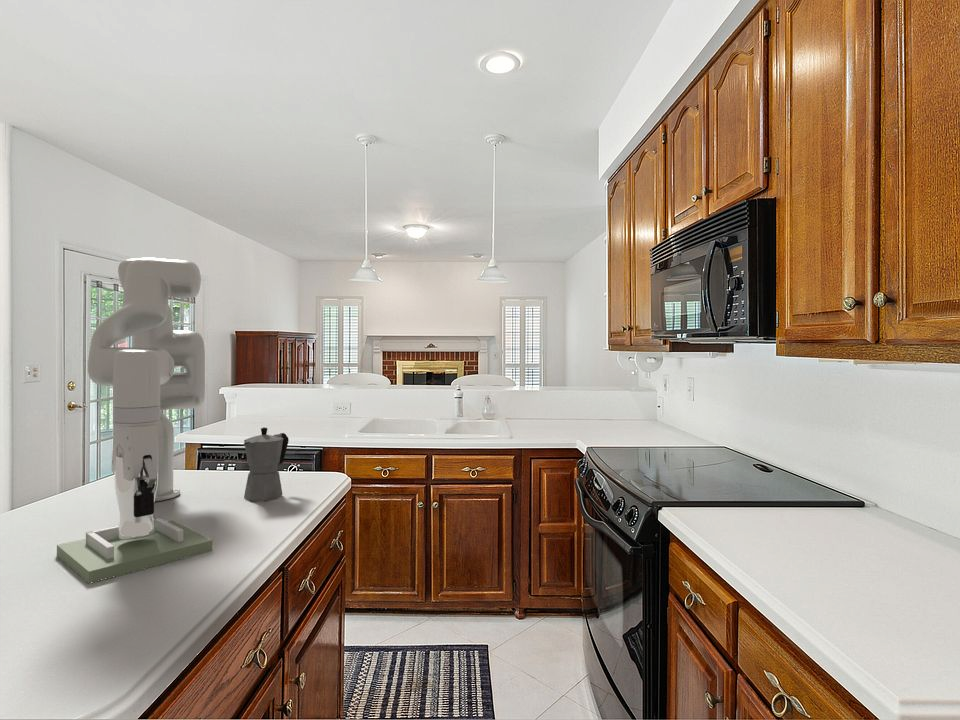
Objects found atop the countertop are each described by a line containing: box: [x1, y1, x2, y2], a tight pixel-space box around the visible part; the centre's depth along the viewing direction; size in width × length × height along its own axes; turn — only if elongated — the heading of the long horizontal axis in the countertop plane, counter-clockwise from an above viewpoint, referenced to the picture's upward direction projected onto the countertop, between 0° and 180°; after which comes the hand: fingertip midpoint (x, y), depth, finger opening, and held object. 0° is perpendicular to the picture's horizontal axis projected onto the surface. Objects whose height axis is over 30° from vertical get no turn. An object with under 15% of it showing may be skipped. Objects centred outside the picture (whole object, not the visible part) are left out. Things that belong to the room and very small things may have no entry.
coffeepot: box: [243, 427, 290, 503], centre depth 145 cm, size 15×9×18 cm, turn 159°
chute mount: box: [56, 516, 213, 584], centre depth 104 cm, size 18×20×4 cm
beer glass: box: [113, 456, 158, 540], centre depth 104 cm, size 7×7×15 cm
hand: (136, 510), depth 104 cm, fingers closed on beer glass, 6 cm apart
